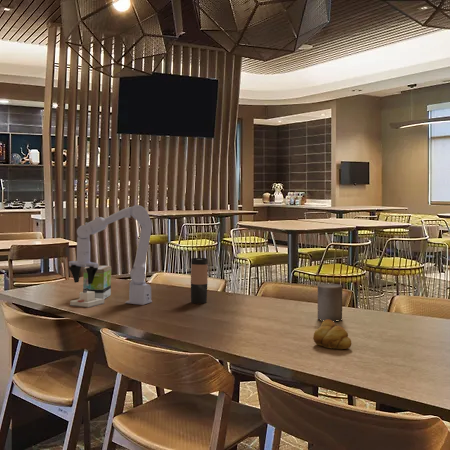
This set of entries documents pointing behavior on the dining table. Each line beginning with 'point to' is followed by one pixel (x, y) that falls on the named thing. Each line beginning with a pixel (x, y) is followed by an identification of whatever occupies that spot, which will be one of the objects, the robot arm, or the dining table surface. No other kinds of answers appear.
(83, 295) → the plug
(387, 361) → the dining table surface
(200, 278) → the travel mug
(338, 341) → the bread roll
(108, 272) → the tea box
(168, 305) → the dining table surface
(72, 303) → the socket plate
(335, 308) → the pillar candle
